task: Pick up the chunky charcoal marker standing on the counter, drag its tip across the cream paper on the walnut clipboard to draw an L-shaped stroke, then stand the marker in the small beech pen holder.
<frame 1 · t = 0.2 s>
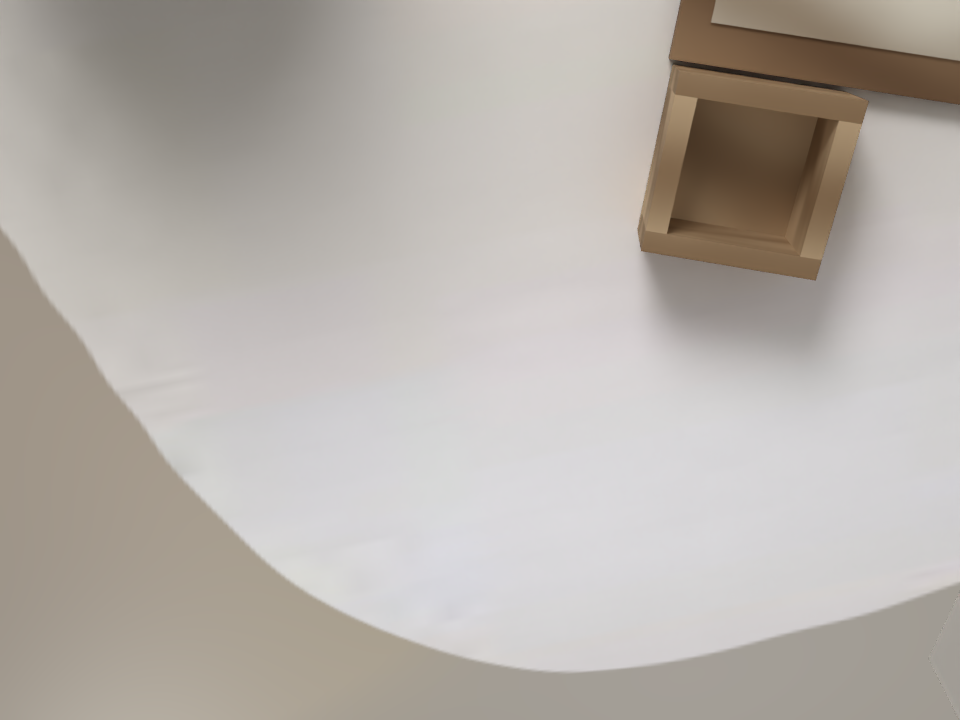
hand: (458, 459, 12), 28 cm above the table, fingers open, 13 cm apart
holder: (736, 163, 37), on the table
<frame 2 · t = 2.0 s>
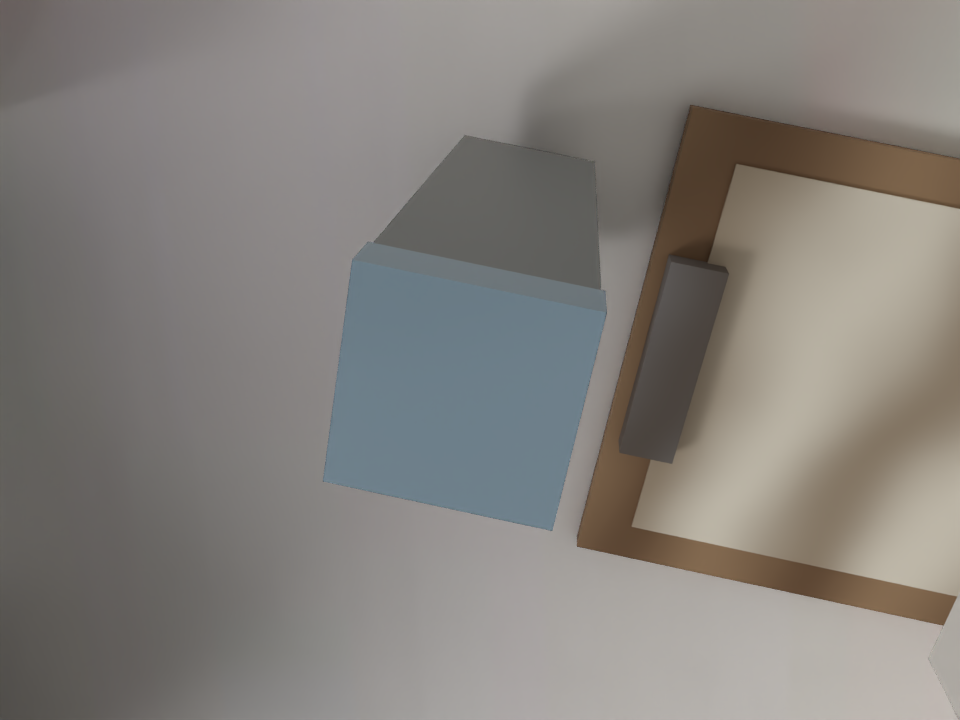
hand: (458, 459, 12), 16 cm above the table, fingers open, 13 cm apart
clipboard: (909, 400, 27), on the table
marker: (520, 201, 26), on the table
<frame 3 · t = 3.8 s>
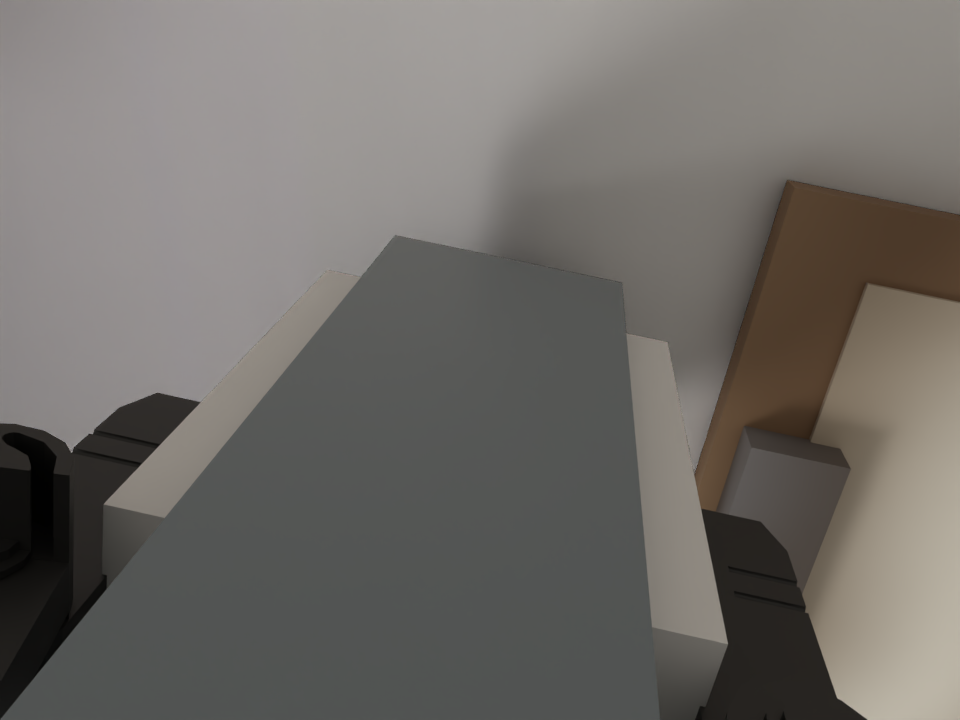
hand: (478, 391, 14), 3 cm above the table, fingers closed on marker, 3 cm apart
marker: (496, 331, 16), on the table, touching gripper
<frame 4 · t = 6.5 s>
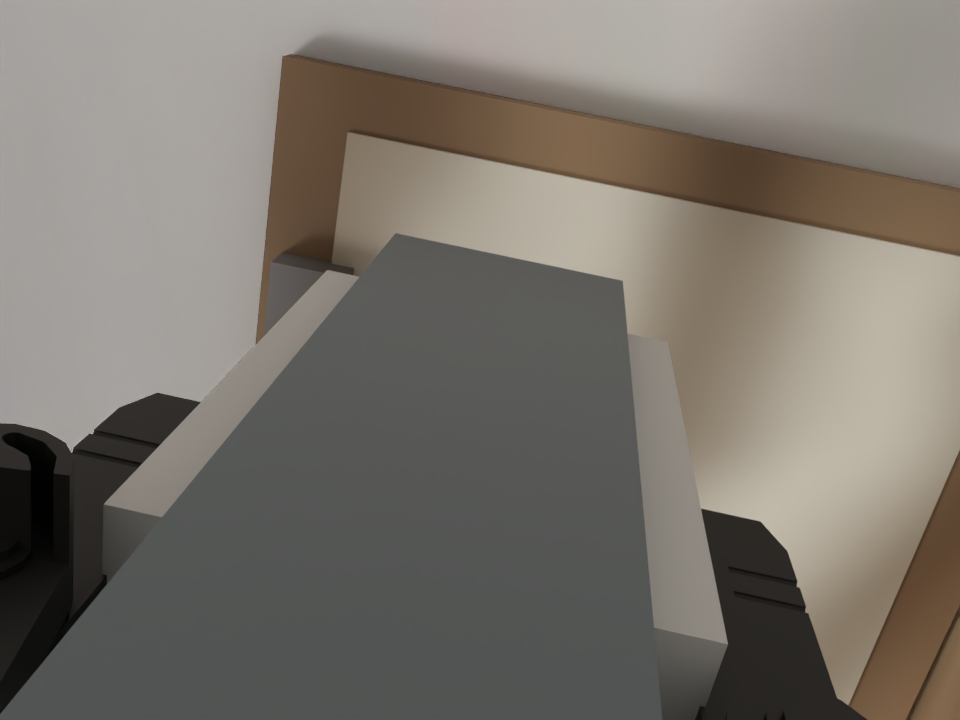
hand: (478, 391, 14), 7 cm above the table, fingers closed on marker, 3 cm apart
clipboard: (618, 439, 21), on the table
marker: (496, 329, 16), point 4 cm above the table, touching gripper
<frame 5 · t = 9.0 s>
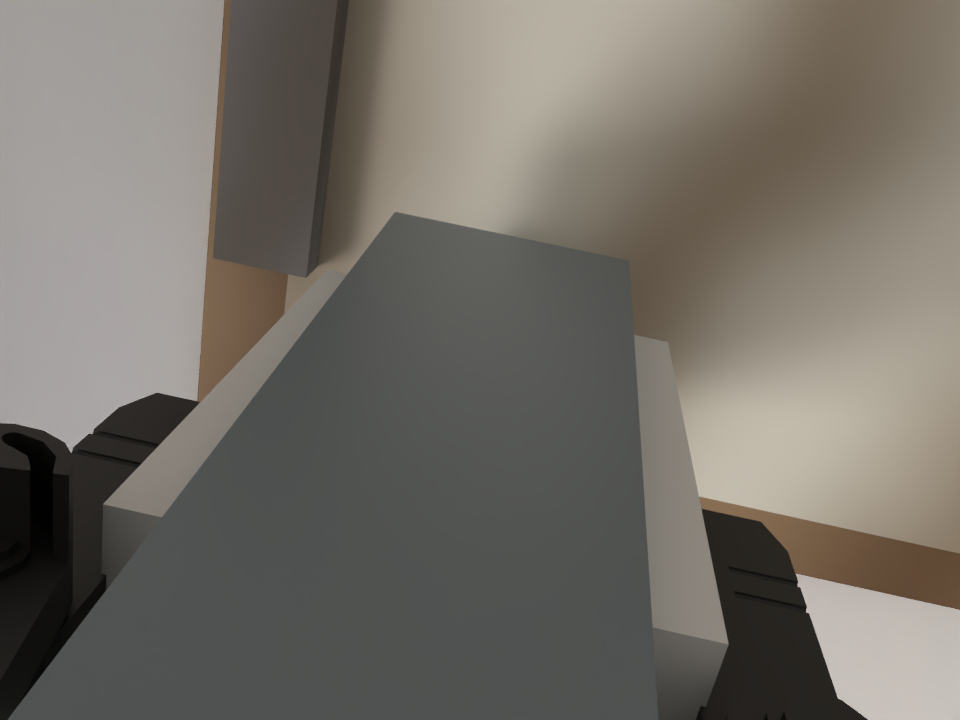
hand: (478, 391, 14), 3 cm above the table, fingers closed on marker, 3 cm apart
clipboard: (733, 163, 15), on the table
marker: (500, 307, 16), point 1 cm above the table, touching gripper
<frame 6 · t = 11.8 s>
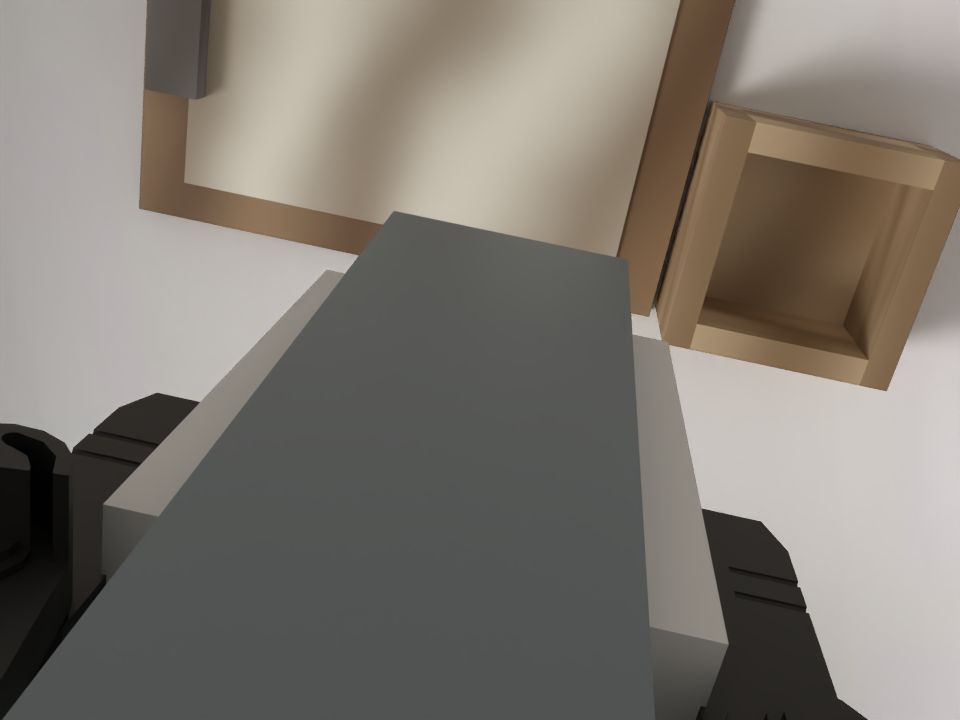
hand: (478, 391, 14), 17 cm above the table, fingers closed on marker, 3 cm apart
clipboard: (428, 36, 28), on the table
holder: (786, 230, 29), on the table
marker: (499, 306, 16), point 14 cm above the table, touching gripper
when the fingers open (4 cm above the table, at t = 14.3 s): marker drops 1 cm, resting on holder.
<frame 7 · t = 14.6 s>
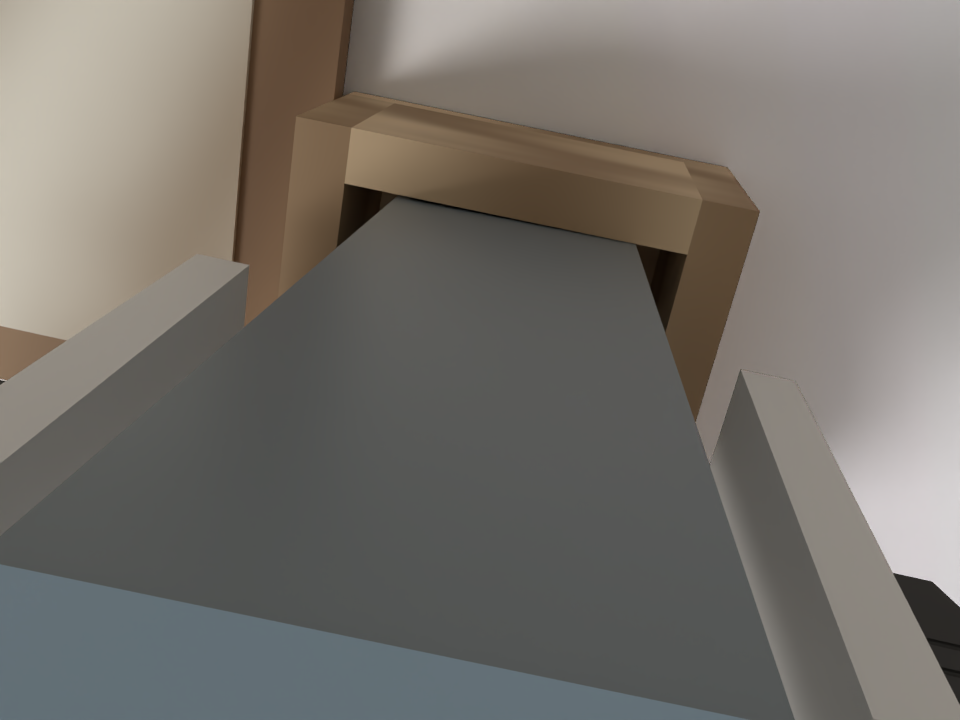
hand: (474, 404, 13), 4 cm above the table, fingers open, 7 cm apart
holder: (503, 305, 17), on the table
marker: (506, 286, 17), resting on holder
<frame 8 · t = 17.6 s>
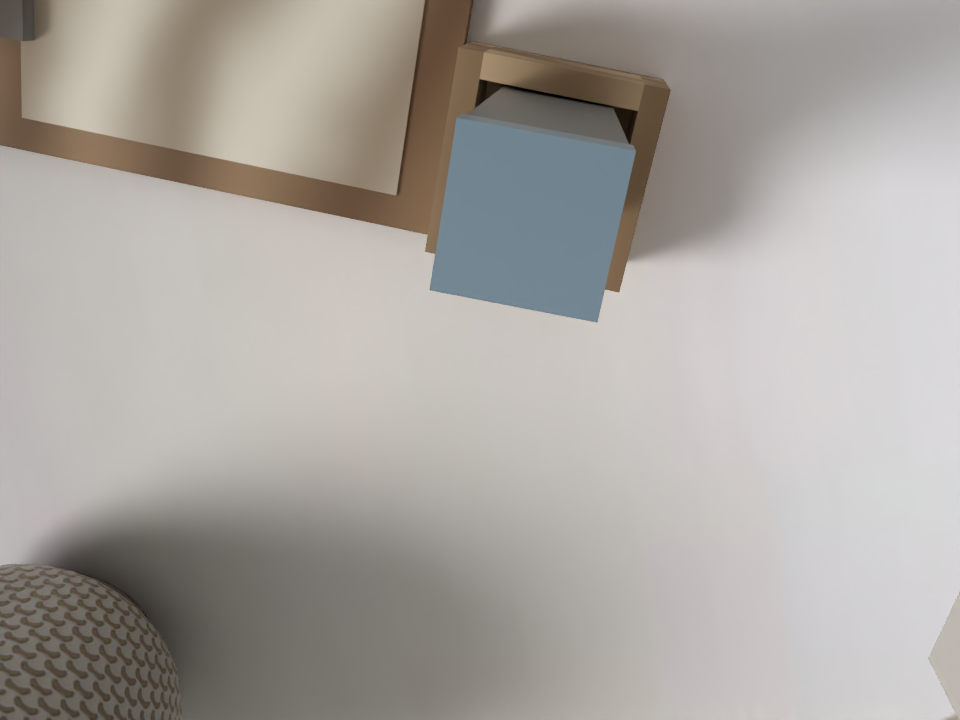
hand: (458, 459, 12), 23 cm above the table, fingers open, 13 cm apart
planter: (89, 631, 43), on the table
holder: (547, 156, 33), on the table
marker: (549, 143, 32), resting on holder
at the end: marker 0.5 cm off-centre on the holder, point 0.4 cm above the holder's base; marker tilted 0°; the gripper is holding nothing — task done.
